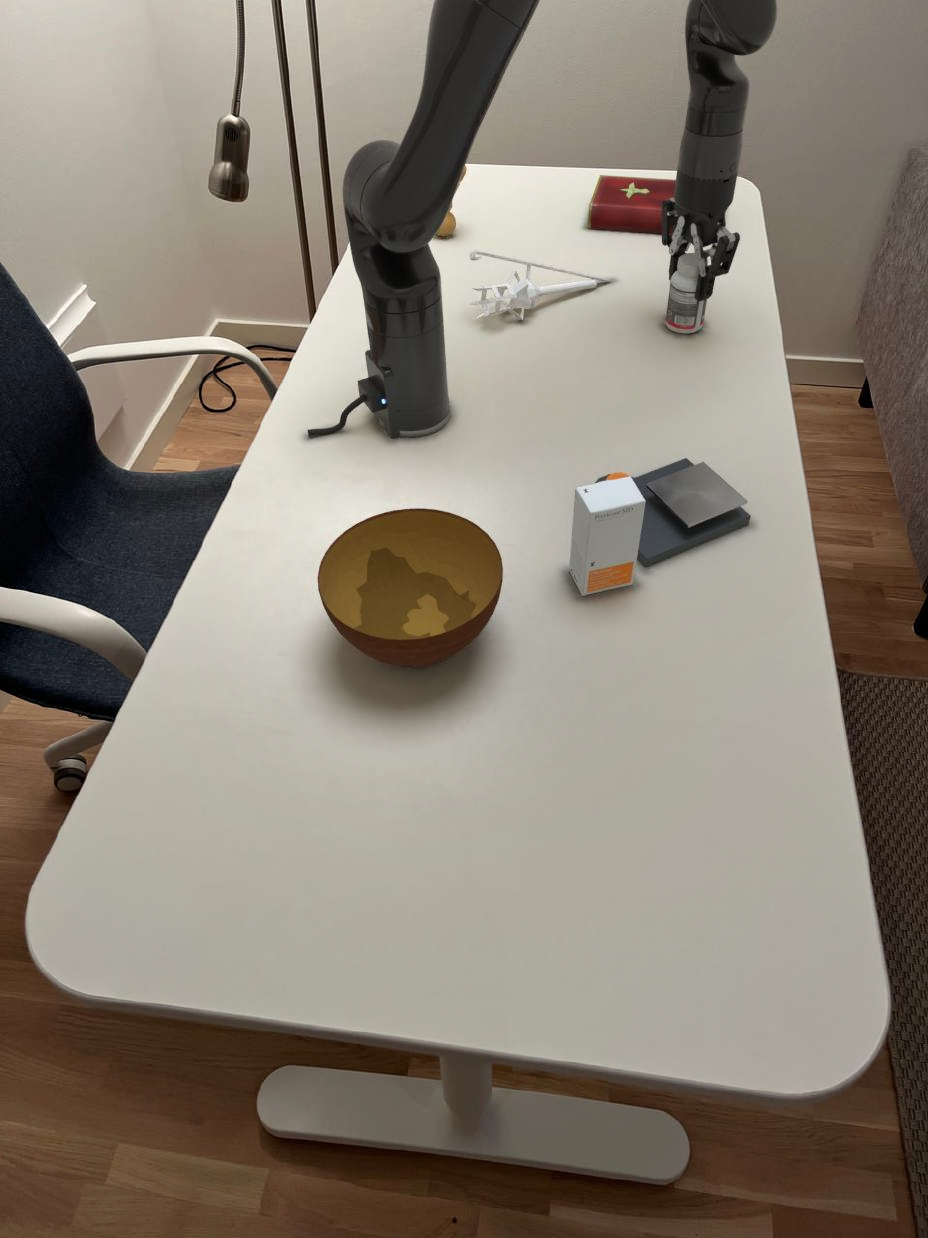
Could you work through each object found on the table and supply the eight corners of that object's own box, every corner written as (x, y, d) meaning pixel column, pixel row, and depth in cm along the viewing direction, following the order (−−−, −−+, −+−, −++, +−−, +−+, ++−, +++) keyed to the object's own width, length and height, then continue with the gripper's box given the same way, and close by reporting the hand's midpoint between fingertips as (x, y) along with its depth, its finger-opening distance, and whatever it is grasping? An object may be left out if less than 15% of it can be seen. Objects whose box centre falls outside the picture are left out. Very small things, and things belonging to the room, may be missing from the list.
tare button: (614, 504, 104) (615, 492, 103) (599, 489, 106) (600, 477, 105) (636, 495, 105) (638, 483, 104) (621, 481, 107) (623, 469, 106)
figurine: (433, 223, 158) (428, 150, 149) (468, 222, 158) (465, 148, 149) (432, 247, 153) (427, 172, 144) (469, 245, 153) (466, 170, 144)
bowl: (377, 561, 104) (366, 492, 96) (527, 599, 99) (528, 529, 91) (302, 679, 93) (283, 611, 85) (467, 728, 88) (462, 661, 81)
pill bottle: (682, 310, 136) (691, 246, 129) (710, 325, 133) (722, 259, 126) (656, 324, 134) (665, 259, 127) (685, 338, 131) (695, 273, 124)
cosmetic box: (582, 598, 99) (588, 513, 90) (568, 571, 101) (573, 486, 93) (635, 585, 100) (647, 500, 91) (620, 559, 102) (630, 473, 93)
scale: (642, 569, 101) (644, 549, 99) (581, 503, 109) (582, 484, 107) (748, 524, 105) (753, 504, 103) (682, 464, 113) (686, 444, 111)
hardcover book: (716, 238, 151) (721, 213, 147) (587, 229, 155) (589, 204, 151) (721, 206, 158) (725, 180, 155) (598, 197, 162) (600, 173, 159)
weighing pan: (688, 527, 101) (688, 525, 101) (645, 486, 106) (645, 483, 105) (747, 503, 103) (748, 500, 103) (702, 464, 108) (703, 461, 108)
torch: (593, 342, 147) (456, 318, 134) (599, 283, 146) (461, 253, 133) (619, 339, 142) (478, 313, 129) (625, 278, 140) (484, 245, 128)
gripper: (650, 150, 120) (637, 274, 133) (719, 191, 112) (698, 320, 124) (697, 138, 122) (680, 261, 135) (769, 177, 114) (743, 305, 126)
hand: (689, 288), depth 129 cm, fingers closed on pill bottle, 5 cm apart
